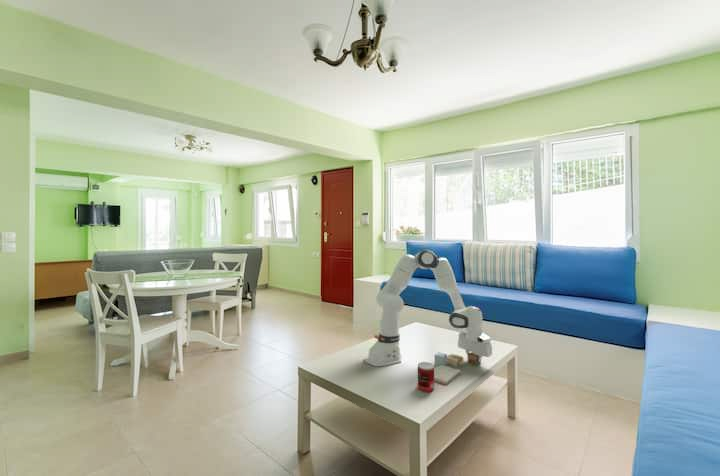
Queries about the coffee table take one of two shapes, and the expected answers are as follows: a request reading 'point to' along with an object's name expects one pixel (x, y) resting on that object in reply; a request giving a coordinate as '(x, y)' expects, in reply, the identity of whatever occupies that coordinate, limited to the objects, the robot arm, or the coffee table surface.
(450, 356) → the oak base block
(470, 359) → the walnut block
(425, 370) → the canned food
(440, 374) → the washcloth
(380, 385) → the coffee table surface
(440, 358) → the grey-blue block
